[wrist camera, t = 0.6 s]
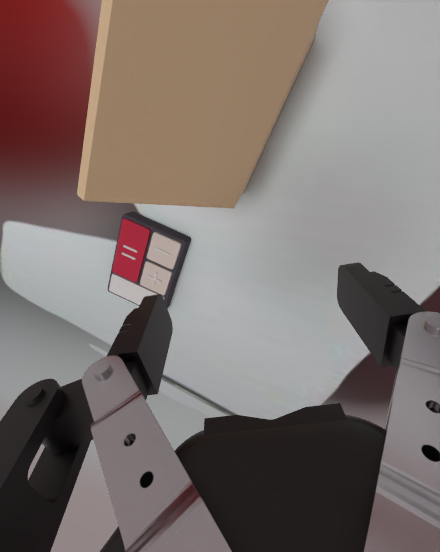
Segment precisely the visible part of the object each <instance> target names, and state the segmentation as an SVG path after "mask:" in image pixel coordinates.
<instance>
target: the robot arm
mask: <svg viewBox="0 0 440 552" xmlns="http://www.w3.org/2000/svg"><path fill="white" fill-rule="evenodd" d="M337 299H338V304H339V306H340V308H341V310H342V311H343V313H344V314H345V316H346V317H347V319H348V320H349V322H350V323H351V325H352V326H353V327H354V329H355V330H356V332H357V333H358V335H359V336H360V338H361V339H362V341H363V342H364V344H365V345H366V346H367V348H368V349H369V351H370V352H371V354H372V355H373V357H374V358H375V360H376V361H377V362H378V364H379V365H380V367H386V366H394V367H395V368H396V370H397V373H396V377H395V382H394V387H393V392H392V397H391V402H390V407H389V412H388V416H387V421H386V426H385V429H383V428H382V427H380V426H378V425H376V424H374V423H372V422H370V421H367V420H364V419H361V418H358V417H354V416H350V415H345V414H344V412H343V409H342V407H341V405H340V403H338V404H329V405H321V406H312V407H305V408H302V409H300V410H297V411H295V412H292V413H289V414H287V415H284V416H282V417H279V418H277V419H274V420H267V419H261V418H254V417H247V416H240V415H232V416H223V417H215V418H206V419H205V422H204V430H203V431H201V432H198V433H197V434H195V435H193V436H191V437H190V438H189V439H187V440H186V441H184V442H183V443H182V444H181V445H180V446H179V447H178V448H177V449H176V450H175V451H174V450H173V448H172V446H171V445H170V443H169V441H168V439H167V437H166V436H165V434H164V432H163V430H162V429H161V427H160V425H159V423H158V422H157V420H156V418H155V416H154V415H153V413H152V411H151V409H150V407H149V406H148V404H147V402H146V399H147V395H153V394H158V391H159V386H160V382H161V378H162V374H163V369H164V365H165V361H166V357H167V353H168V348H169V344H170V340H171V336H172V321H171V318H170V315H169V312H168V310H167V307H166V304H165V301H164V299H163V296H162V295H161V294H157V295H151V296H145V297H144V298H143V299H142V302H141V304H140V306H139V308H136V309H134V310H133V311H132V312H131V313H130V314H129V315H128V316H127V317H126V319H125V321H124V323H123V326H122V327H121V329H120V331H119V333H118V335H117V337H116V339H115V341H114V343H113V345H112V347H111V349H110V351H109V353H108V355H107V357H104V358H101V359H100V360H98V361H96V362H95V363H93V364H92V365H91V366H90V367H89V368H88V369H87V370H86V372H85V373H84V375H83V378H82V379H80V380H77V381H75V382H72V383H70V384H67V385H65V386H62V387H60V385H59V384H58V383H57V381H55V380H54V379H45V380H42V381H39V382H37V383H35V384H33V385H32V386H30V387H29V388H27V389H26V390H25V391H23V392H22V393H21V395H19V396H18V397H17V399H16V400H15V402H14V403H13V404H12V406H11V407H10V409H9V410H8V411H7V413H6V414H5V416H4V417H3V418H2V420H1V421H0V552H50V551H51V548H52V546H53V543H54V540H55V537H56V535H57V532H58V529H59V526H60V524H61V521H62V518H63V515H64V513H65V510H66V507H67V504H68V502H69V499H70V496H71V494H72V491H73V488H74V485H75V483H76V480H77V477H78V474H79V471H80V469H81V466H82V463H83V461H84V458H85V455H86V452H87V450H88V447H89V444H90V441H91V440H93V439H94V442H95V445H96V449H97V453H98V456H99V459H100V463H101V467H102V470H103V473H104V477H105V480H106V484H107V487H108V491H109V494H110V498H111V501H112V504H113V508H114V511H115V515H116V518H117V522H118V528H117V529H116V530H115V532H114V533H113V535H112V536H111V537H110V539H109V540H108V541H107V543H106V544H105V545H104V547H103V548H102V549H101V551H100V552H440V313H435V312H426V311H425V310H424V309H423V308H422V307H420V306H419V305H418V304H417V303H416V302H415V301H414V300H412V299H411V298H410V297H409V296H408V295H407V294H405V293H404V292H402V291H401V289H400V288H399V287H397V286H395V284H394V283H393V282H392V281H390V280H389V279H388V278H387V277H385V276H383V275H381V274H379V273H376V272H369V271H368V270H367V269H366V268H365V267H364V266H363V265H362V264H361V263H352V264H346V265H340V266H339V269H338V287H337ZM41 444H43V445H44V446H45V448H44V450H43V452H42V454H41V456H40V458H39V460H38V462H37V464H36V466H35V468H34V470H33V472H32V474H31V476H30V478H29V480H28V477H27V476H28V470H29V467H30V465H31V463H32V461H33V459H34V457H35V455H36V453H37V451H38V449H39V447H40V445H41Z"/></svg>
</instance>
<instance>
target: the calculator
mask: <svg viewBox="0 0 440 552" xmlns="http://www.w3.org/2000/svg"><path fill="white" fill-rule="evenodd" d="M190 241H191V238H190V237H188V236H186V235H184V234H182V233H180V232H177V231H175V230H173V229H171V228H168V227H166V226H164V225H162V224H159V223H157V222H155V221H153V220H151V219H148V218H146V217H144V216H142V215H141V214H138V213H136V212H130V213H126V214H123V216H122V220H121V225H120V230H119V235H118V240H117V245H116V250H115V255H114V260H113V265H112V270H111V275H110V280H109V284H108V291H109V292H111V293H113V294H115V295H117V296H120V297H122V298H124V299H126V300H128V301H130V302H132V303H135V304H137V305H139V306H140V304H141V302H142V299H143V298H144V297H145V296H151V295H157V294H161V295H162V296H163V299H164V301H165V304H166V307H167V308H168V307H169V305H170V302H171V299H172V296H173V293H174V289H175V286H176V283H177V280H178V277H179V274H180V271H181V268H182V265H183V262H184V259H185V256H186V253H187V250H188V247H189V244H190Z"/></svg>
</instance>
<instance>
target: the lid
mask: <svg viewBox="0 0 440 552" xmlns="http://www.w3.org/2000/svg"><path fill="white" fill-rule="evenodd" d="M327 3H328V0H102V5H101V12H100V20H99V28H98V36H97V44H96V51H95V59H94V67H93V74H92V82H91V90H90V98H89V105H88V113H87V121H86V129H85V136H84V144H83V153H82V161H81V167H80V175H79V183H78V191H77V195H78V196H79V197H80V198H81V199H82V200H84V201H101V202H119V203H139V204H158V205H178V206H198V207H218V208H235V205H236V203H237V201H238V199H239V197H240V194H241V192H242V190H243V188H244V186H245V183H246V181H247V179H248V177H249V175H250V172H251V170H252V168H253V166H254V164H255V161H256V159H257V157H258V155H259V153H260V150H261V148H262V146H263V144H264V142H265V139H266V137H267V135H268V133H269V130H270V128H271V126H272V124H273V122H274V119H275V117H276V115H277V113H278V111H279V108H280V106H281V104H282V102H283V100H284V97H285V95H286V93H287V91H288V89H289V86H290V84H291V82H292V80H293V78H294V75H295V73H296V71H297V69H298V67H299V64H300V62H301V60H302V58H303V56H304V53H305V51H306V49H307V47H308V45H309V42H310V40H311V38H312V36H313V34H314V31H315V29H316V27H317V25H318V23H319V20H320V18H321V16H322V14H323V12H324V9H325V7H326V5H327Z"/></svg>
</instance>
